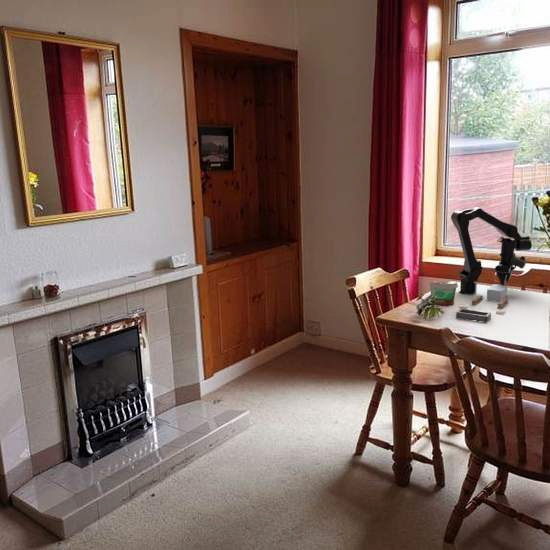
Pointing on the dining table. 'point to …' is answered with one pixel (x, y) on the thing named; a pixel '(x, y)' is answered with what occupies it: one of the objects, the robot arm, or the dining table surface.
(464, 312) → the tray
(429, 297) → the green spiky leafy piece
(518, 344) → the dining table surface
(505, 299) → the lane
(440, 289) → the food container
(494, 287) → the block
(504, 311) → the tiles
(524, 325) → the dining table surface
